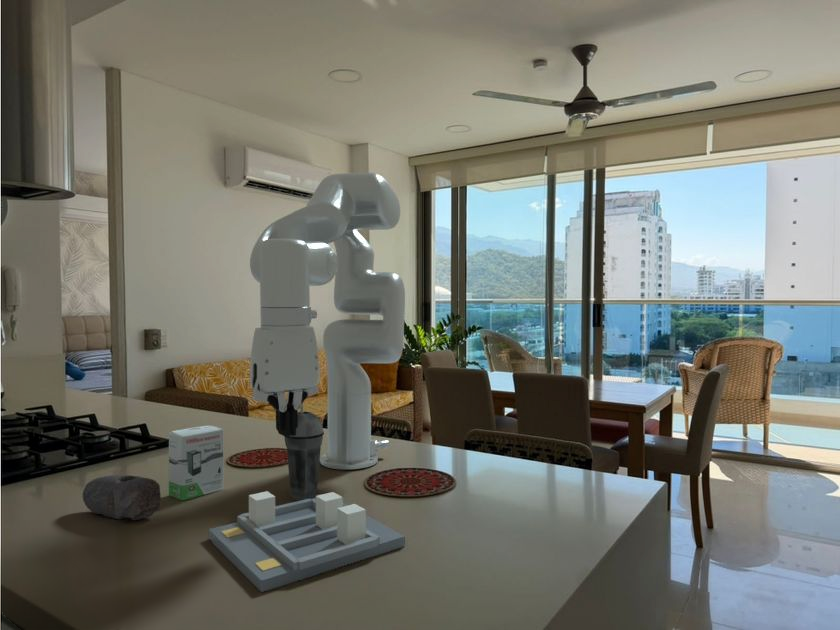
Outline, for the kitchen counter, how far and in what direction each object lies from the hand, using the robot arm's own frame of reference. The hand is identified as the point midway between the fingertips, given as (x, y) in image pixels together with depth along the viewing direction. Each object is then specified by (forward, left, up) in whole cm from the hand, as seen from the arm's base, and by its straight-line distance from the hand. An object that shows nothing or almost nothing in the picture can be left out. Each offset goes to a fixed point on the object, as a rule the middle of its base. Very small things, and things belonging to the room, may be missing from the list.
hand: (287, 434), depth 92 cm
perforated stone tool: (+20, -22, -15) cm, 33 cm away
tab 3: (-4, +13, -13) cm, 19 cm away
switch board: (0, +7, -15) cm, 16 cm away
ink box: (+6, -26, -15) cm, 30 cm away
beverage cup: (-9, -12, -15) cm, 21 cm away
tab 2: (-4, +7, -13) cm, 15 cm away
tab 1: (+4, 0, -13) cm, 14 cm away
